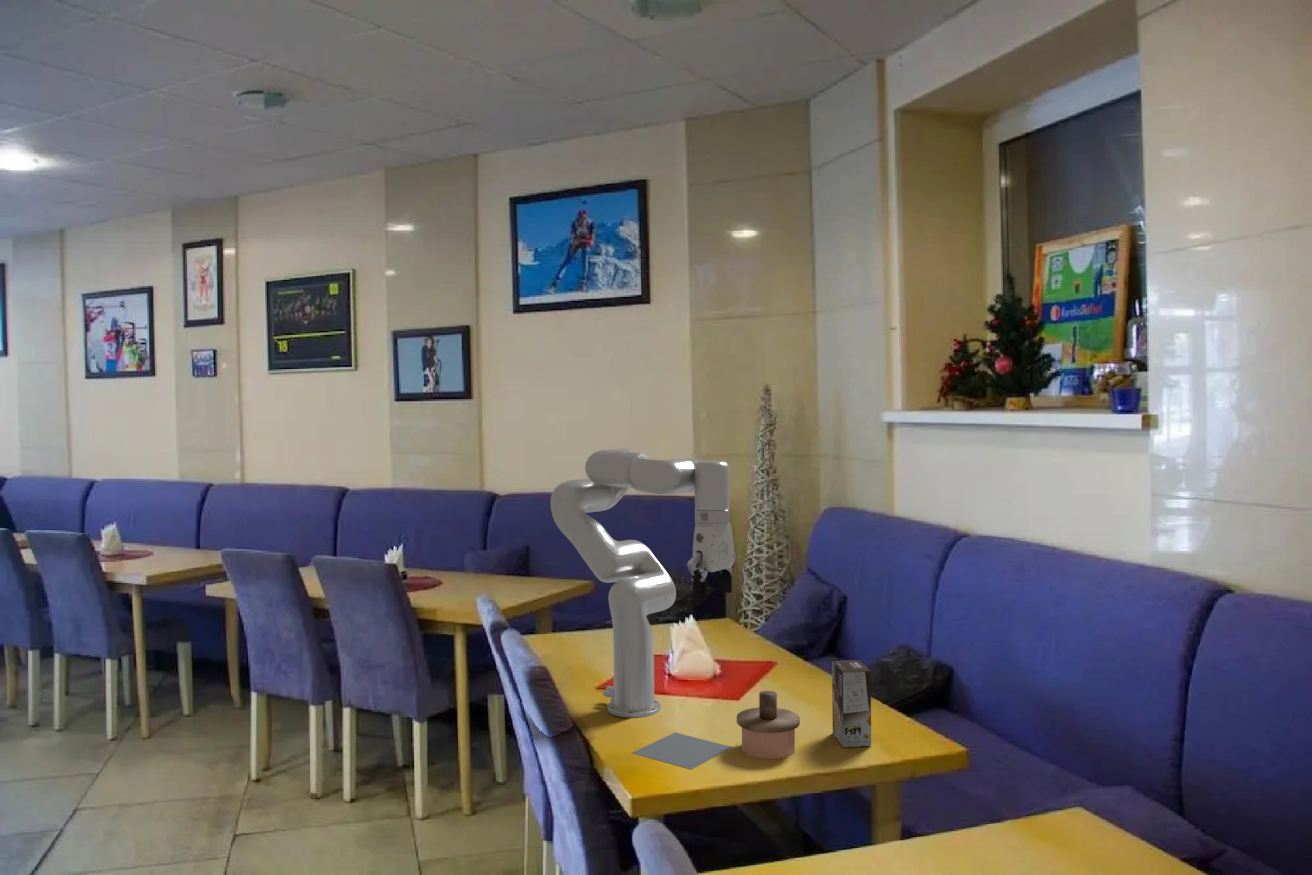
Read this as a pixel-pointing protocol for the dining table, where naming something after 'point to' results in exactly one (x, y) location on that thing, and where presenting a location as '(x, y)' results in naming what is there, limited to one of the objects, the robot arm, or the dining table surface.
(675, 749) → the mat
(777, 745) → the bowl
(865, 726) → the coffee box
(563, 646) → the dining table surface
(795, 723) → the lid
